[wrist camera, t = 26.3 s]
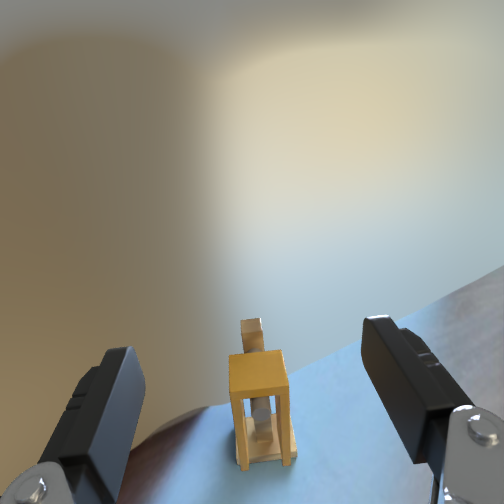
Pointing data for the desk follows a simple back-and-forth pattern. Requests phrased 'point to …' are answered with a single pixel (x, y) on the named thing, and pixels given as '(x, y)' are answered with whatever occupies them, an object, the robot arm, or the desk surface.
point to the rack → (261, 408)
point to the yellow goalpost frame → (259, 385)
